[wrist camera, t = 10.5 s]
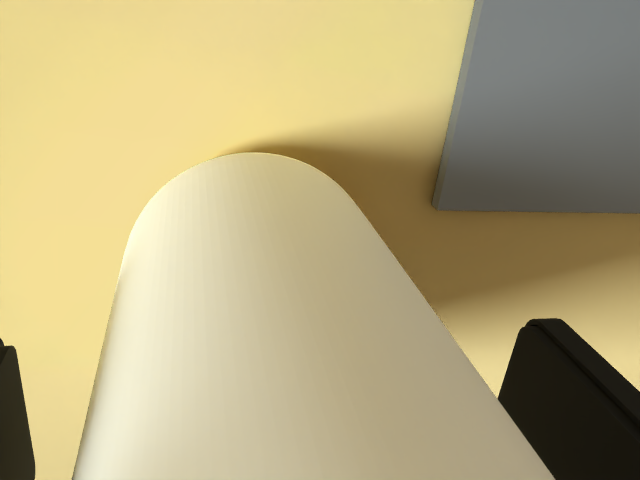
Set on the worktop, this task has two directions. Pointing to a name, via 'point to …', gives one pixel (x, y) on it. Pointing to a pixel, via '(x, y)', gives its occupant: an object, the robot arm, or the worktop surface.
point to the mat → (546, 110)
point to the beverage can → (282, 346)
